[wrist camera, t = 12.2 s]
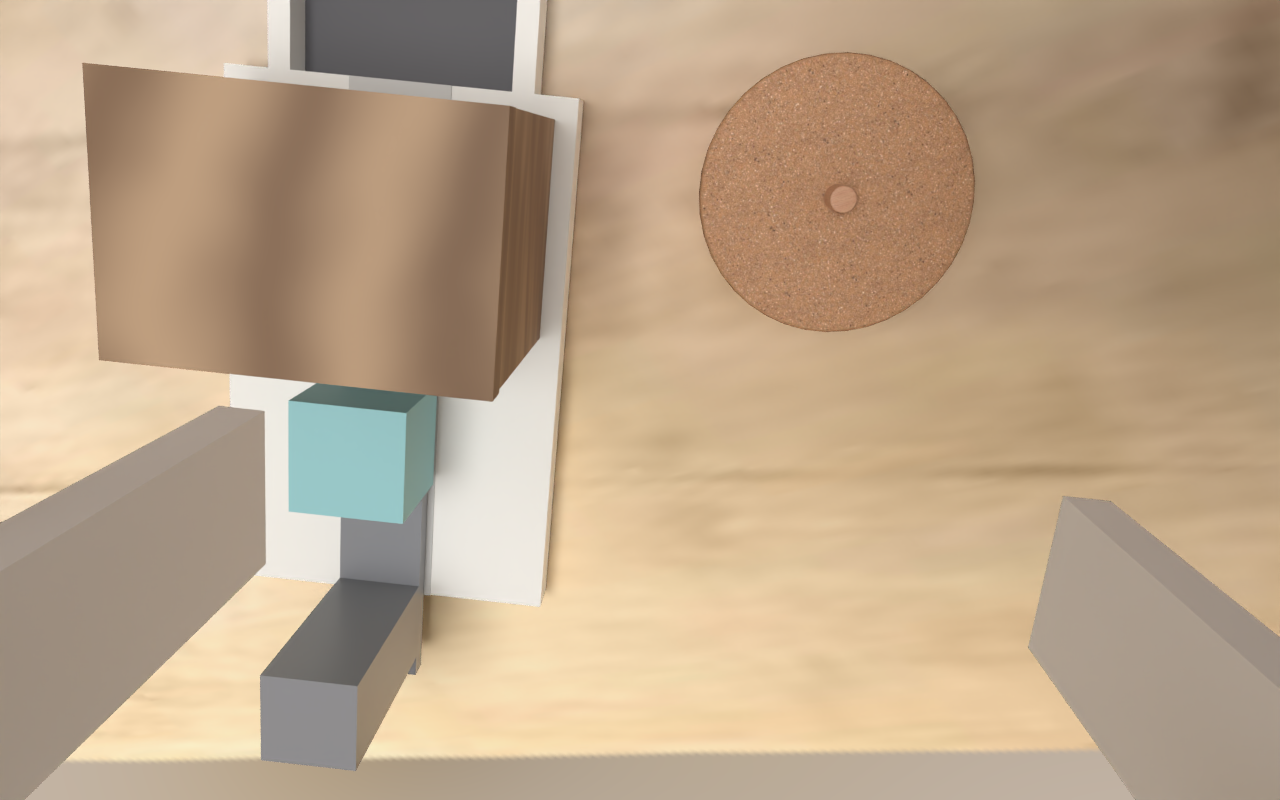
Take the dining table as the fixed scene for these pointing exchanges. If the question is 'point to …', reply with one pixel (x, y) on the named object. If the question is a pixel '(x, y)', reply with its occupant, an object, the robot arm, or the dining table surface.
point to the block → (360, 452)
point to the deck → (530, 398)
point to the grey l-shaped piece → (349, 649)
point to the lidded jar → (836, 192)
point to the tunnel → (315, 231)
